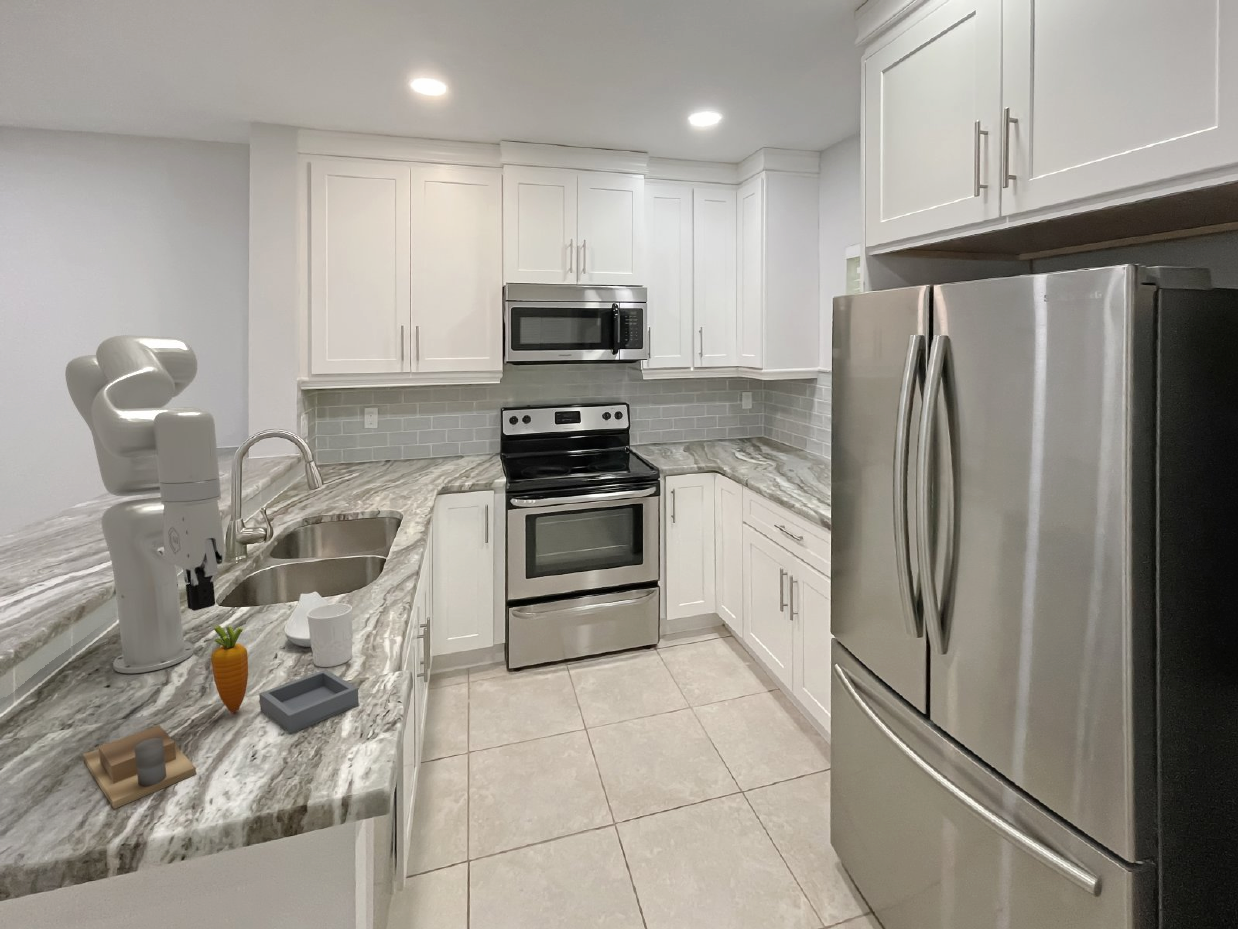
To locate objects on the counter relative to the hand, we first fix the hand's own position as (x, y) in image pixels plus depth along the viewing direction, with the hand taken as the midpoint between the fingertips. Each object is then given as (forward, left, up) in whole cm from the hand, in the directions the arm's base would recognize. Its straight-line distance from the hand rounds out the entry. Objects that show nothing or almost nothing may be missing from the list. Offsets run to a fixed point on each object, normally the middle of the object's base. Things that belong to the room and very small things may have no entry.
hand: (201, 607), depth 96 cm
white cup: (-6, +23, -19) cm, 30 cm away
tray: (+9, +11, -19) cm, 24 cm away
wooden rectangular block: (+6, -11, -18) cm, 22 cm away
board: (+6, -11, -19) cm, 23 cm away
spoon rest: (-23, +27, -19) cm, 40 cm away
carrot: (+1, +3, -19) cm, 19 cm away
